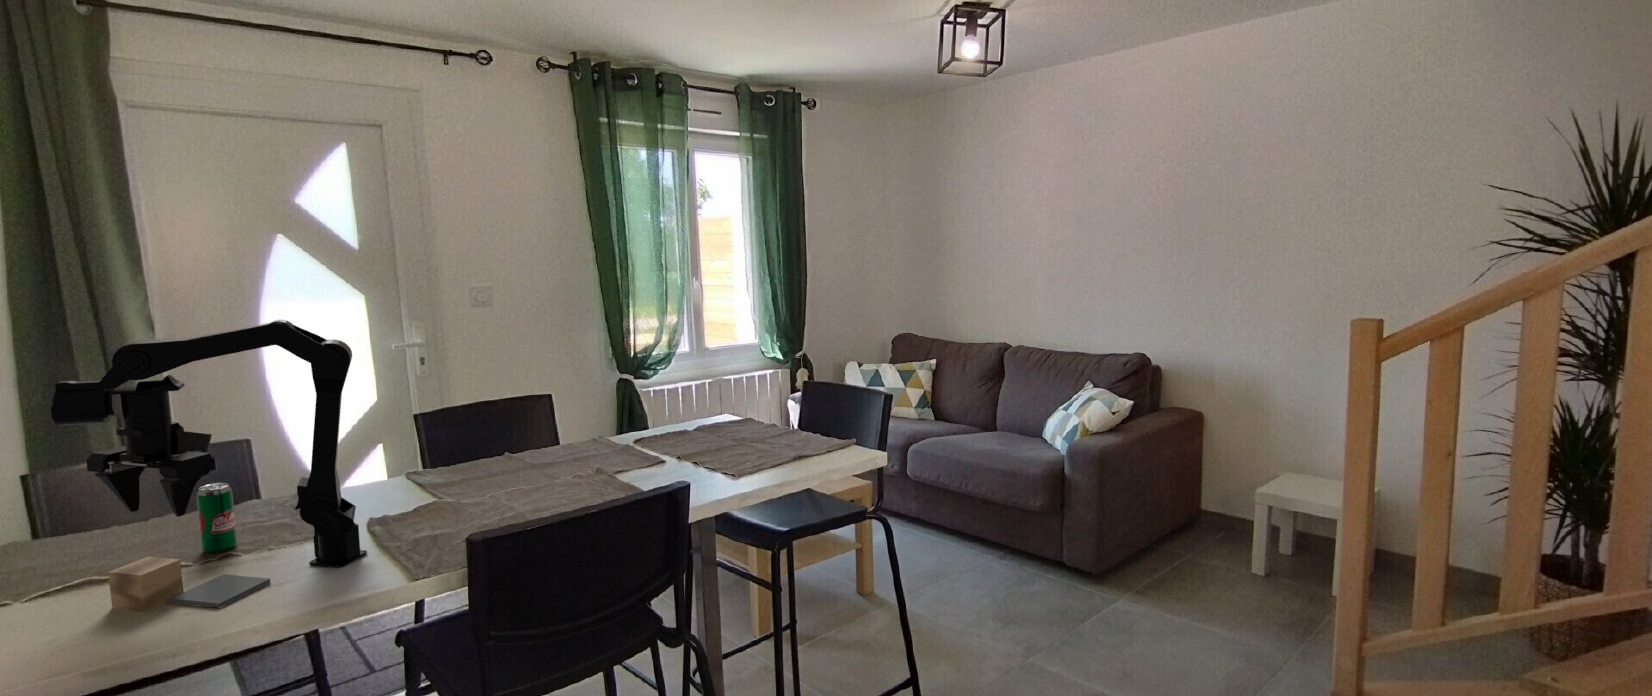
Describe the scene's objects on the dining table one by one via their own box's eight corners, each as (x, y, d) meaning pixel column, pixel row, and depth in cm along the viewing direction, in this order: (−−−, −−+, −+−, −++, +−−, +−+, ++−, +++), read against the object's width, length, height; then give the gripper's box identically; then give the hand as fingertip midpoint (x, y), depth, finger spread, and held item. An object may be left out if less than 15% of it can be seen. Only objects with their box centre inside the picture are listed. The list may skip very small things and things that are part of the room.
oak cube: (183, 594, 121) (180, 559, 121) (144, 612, 116) (140, 575, 115) (152, 591, 122) (148, 556, 122) (112, 608, 117) (108, 572, 116)
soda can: (217, 555, 136) (211, 491, 135) (194, 552, 137) (188, 489, 136) (244, 544, 141) (238, 483, 140) (222, 542, 142) (216, 481, 141)
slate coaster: (270, 583, 126) (270, 578, 126) (219, 608, 117) (218, 603, 117) (224, 578, 127) (223, 574, 127) (170, 603, 118) (169, 598, 118)
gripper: (244, 412, 126) (251, 501, 128) (153, 406, 130) (162, 493, 132) (175, 427, 115) (185, 525, 117) (78, 420, 119) (89, 515, 121)
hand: (157, 513), depth 122 cm, fingers open, 9 cm apart
